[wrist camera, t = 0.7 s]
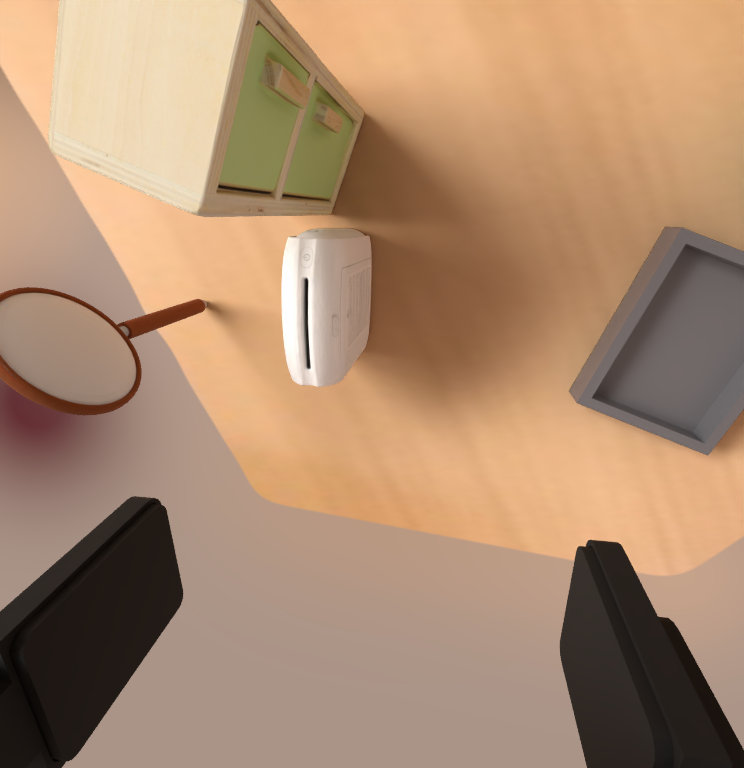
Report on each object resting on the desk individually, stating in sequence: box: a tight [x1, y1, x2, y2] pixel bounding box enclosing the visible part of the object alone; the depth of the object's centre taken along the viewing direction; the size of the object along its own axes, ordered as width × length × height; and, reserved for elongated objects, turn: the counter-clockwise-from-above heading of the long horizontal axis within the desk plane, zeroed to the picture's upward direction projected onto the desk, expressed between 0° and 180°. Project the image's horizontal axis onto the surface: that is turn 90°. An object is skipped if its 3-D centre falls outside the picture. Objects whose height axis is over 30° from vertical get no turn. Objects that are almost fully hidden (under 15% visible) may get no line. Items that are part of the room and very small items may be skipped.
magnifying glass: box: [0, 287, 207, 415], centre depth 32 cm, size 9×2×20 cm, turn 38°
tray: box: [569, 227, 744, 455], centre depth 34 cm, size 14×11×3 cm
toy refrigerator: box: [48, 0, 364, 217], centre depth 26 cm, size 8×7×21 cm
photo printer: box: [282, 228, 372, 387], centre depth 33 cm, size 10×4×12 cm, turn 178°
